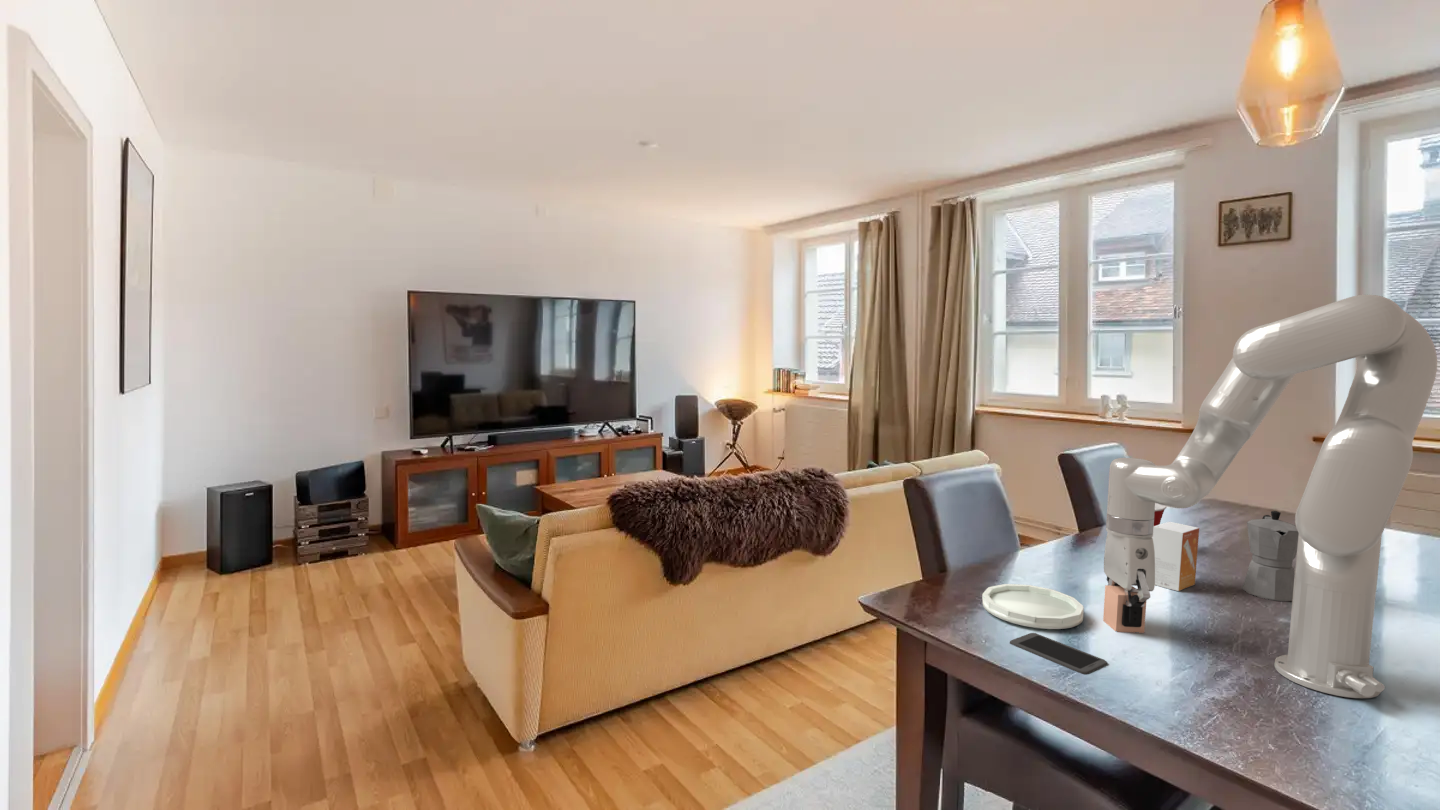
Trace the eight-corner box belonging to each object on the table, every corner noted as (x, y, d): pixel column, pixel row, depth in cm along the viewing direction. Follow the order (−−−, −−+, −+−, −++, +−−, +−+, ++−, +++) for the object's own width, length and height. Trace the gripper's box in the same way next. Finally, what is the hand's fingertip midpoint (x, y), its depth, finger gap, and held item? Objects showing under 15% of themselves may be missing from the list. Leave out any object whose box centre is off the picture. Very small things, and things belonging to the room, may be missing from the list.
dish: (1100, 634, 124) (1100, 620, 124) (998, 630, 126) (999, 616, 126) (1060, 597, 142) (1060, 585, 142) (971, 594, 144) (972, 582, 144)
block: (1144, 632, 125) (1146, 596, 125) (1115, 631, 126) (1118, 594, 125) (1130, 621, 130) (1132, 586, 129) (1103, 620, 131) (1105, 585, 130)
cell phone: (1032, 635, 125) (1032, 631, 125) (1109, 665, 113) (1109, 661, 113) (1007, 645, 121) (1007, 640, 121) (1084, 677, 109) (1085, 672, 109)
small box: (1179, 592, 146) (1183, 532, 145) (1147, 583, 151) (1151, 526, 150) (1196, 585, 150) (1200, 527, 149) (1164, 576, 156) (1168, 520, 154)
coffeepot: (1306, 608, 137) (1313, 521, 135) (1247, 599, 142) (1254, 515, 140) (1287, 584, 151) (1293, 505, 149) (1234, 577, 155) (1240, 500, 153)
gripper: (1177, 539, 117) (1170, 640, 119) (1127, 514, 134) (1122, 603, 136) (1131, 537, 118) (1125, 638, 120) (1087, 513, 135) (1083, 602, 137)
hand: (1123, 619), depth 128 cm, fingers closed on block, 5 cm apart
